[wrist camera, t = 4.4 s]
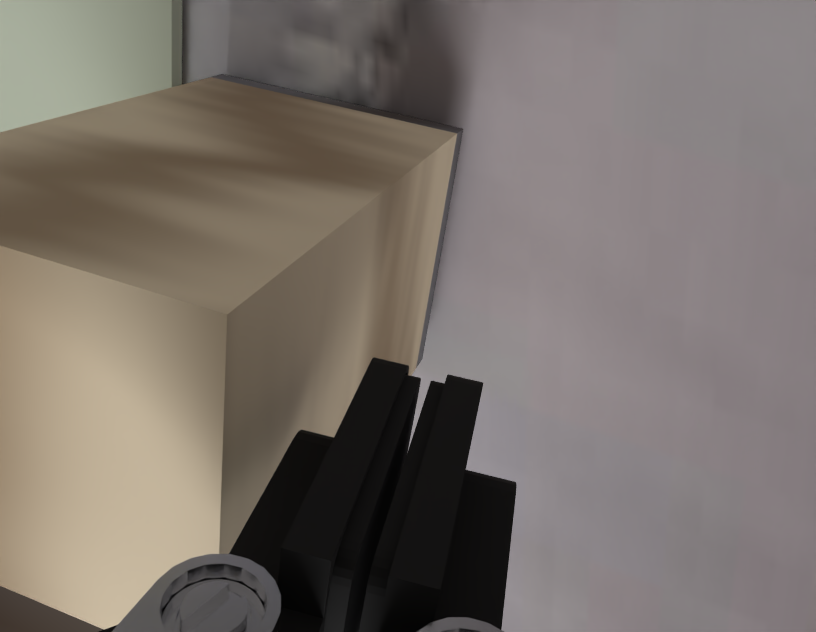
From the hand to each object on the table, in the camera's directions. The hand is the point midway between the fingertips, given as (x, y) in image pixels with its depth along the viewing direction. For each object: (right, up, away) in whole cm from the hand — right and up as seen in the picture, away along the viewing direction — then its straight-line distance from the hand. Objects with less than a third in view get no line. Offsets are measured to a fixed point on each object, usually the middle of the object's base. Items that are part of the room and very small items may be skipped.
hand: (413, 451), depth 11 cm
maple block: (-2, +4, +7) cm, 9 cm away
